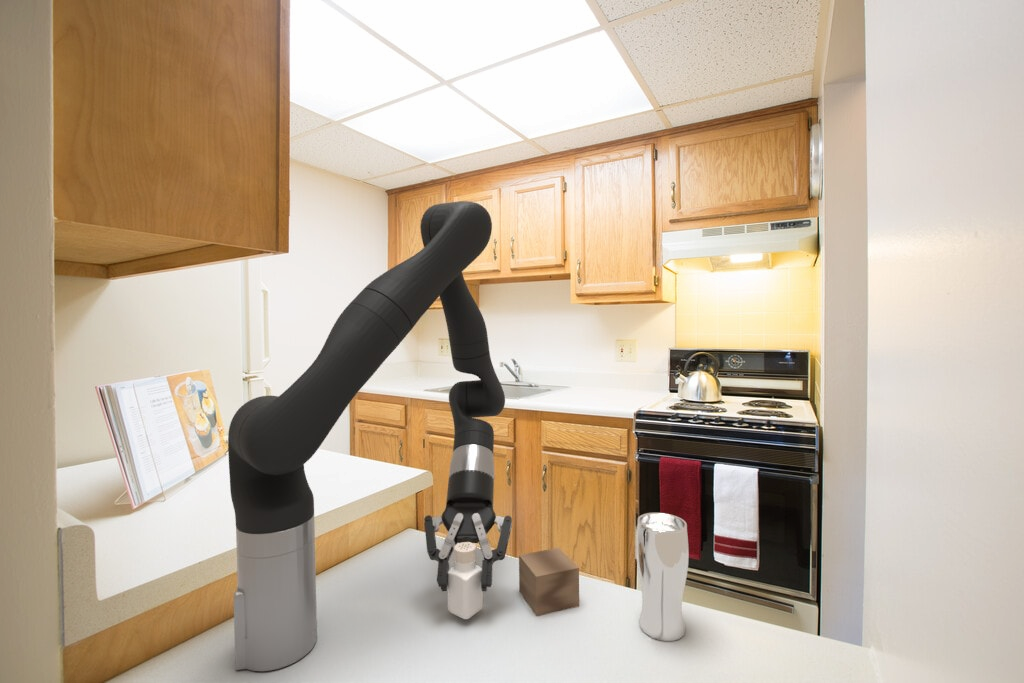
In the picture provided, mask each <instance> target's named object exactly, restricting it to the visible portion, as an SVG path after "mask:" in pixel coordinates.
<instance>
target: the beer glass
mask: <svg viewBox="0 0 1024 683" xmlns="http://www.w3.org/2000/svg"><path fill="white" fill-rule="evenodd" d="M636 526H637V527H636V536H635V537H636V541H635V544H636V545H635V551H636V552H635V554H636V555H635V556H636V565H637V566H636V567H637V572H638V578H639V582H640V583H639V584H640V588H641V599H642V600H641V601H642V602H641V611H640V615H639V622H638V623H639V627H640V629H641V630H642V631H643V633H644V634H645V635H647V636H648V637H650V638H653V639H655V640H658V641H662V642H663V641H664V642H675V641H678V640H681V639H682V638H683V637H684V635H685V633H686V629H685V628H686V626H685V621H684V617H683V597H684V591H685V587H686V582H687V577H688V569H689V556H690V555H689V537H688V524H687V522H686V521H685V520H684V519H683V518H681V517H679V516H677V515H674V514H670V513H666V512H647V513H646V512H645V513H643V514H641V515H639V516H638V517H637V525H636Z"/></svg>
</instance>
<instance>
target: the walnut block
mask: <svg viewBox="0 0 1024 683" xmlns="http://www.w3.org/2000/svg"><path fill="white" fill-rule="evenodd" d="M518 576H519V577H518V579H519V580H518V582H519V583H518V584H519V586H518V588H519V589H518V590H519V594H521V595H522V597H523V599H524V600H525V602H526V603H527V605H528V606H529V608H530V609H531V611H532V612H533V613H534V615H535V617H540V616H544V615H548V614H552V613H557V612H561V611H565V610H570V609H573V608H579V607H580V567H579V566H578V565H577V564H576V563H575V562H574V561H573V560H572V559H571V558H569V556H568V555H567V554H566V553H565V552H564V551H563V550H562V549H561V548H560V547H554V548H549V549H543V550H540V551H535V552H534V551H533V552H528V553H523V554H519V555H518Z"/></svg>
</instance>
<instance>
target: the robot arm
mask: <svg viewBox="0 0 1024 683" xmlns="http://www.w3.org/2000/svg"><path fill="white" fill-rule="evenodd" d="M492 230H493V223H492V218H491V214H490V213H489V211H488V210H487V209H486V208H485V207H484V206H483V205H481V204H480V203H477V202H473V201H467V200H461V201H453V202H442V203H437V204H433V205H431V206H429V207H428V208H427V209H426V210H425V211H424V212H423V214H422V218H421V221H420V237H421V240H422V244H423V248H422V249H420V250H419V251H418V252H416V253H415V254H414V255H413V256H411V257H409V258H406V260H404V261H402V262H400V263H399V264H396V265H395V266H393V267H391V268H390V269H389V270H387V271H385V272H383V273H382V274H380V275H379V276H377V277H376V278H375V279H373V280H372V281H371V282H370V283H369V284H367V285H366V286H365V287H364V288H362V290H361V291H360V292H359V293H358V294H357V296H355V297H354V299H353V300H352V301H350V303H348V305H347V306H346V307H345V308H344V310H343V311H342V312H341V313H340V315H339V316H338V318H337V319H336V320H335V322H334V323H333V326H332V328H331V329H330V332H329V334H328V336H327V338H326V340H325V342H324V344H323V346H322V348H321V350H320V352H319V353H318V355H317V356H316V358H315V359H314V360H313V362H312V363H311V365H310V366H308V368H307V369H306V370H305V371H304V372H303V373H302V374H301V375H300V376H299V377H298V378H297V379H296V380H295V381H294V382H293V383H292V384H291V385H290V386H289V387H288V388H287V389H286V390H284V392H282V393H281V394H280V395H278V396H277V395H262V396H258V397H255V398H252V399H250V400H248V401H246V402H244V404H242V405H241V407H239V408H238V410H237V411H236V412H235V414H234V415H233V417H232V419H231V421H230V424H229V428H228V434H227V436H228V437H227V449H228V450H227V451H228V453H227V454H228V468H229V470H228V471H229V487H230V497H231V502H232V505H233V506H232V507H233V509H234V517H235V518H234V519H235V530H236V532H235V535H236V536H235V537H236V539H235V540H236V569H237V570H236V572H237V579H236V580H237V586H236V589H235V591H234V593H233V625H234V626H233V628H234V629H233V630H234V631H233V632H234V656H235V658H234V659H235V660H234V661H235V663H234V664H235V665H234V666H235V667H234V668H235V671H239V670H248V671H249V670H250V671H254V672H268V671H274V670H279V669H282V668H284V667H287V666H290V665H292V664H294V663H296V662H298V661H300V660H301V659H302V658H304V657H305V656H306V655H308V654H309V653H310V652H311V650H313V648H314V647H315V645H316V644H317V640H318V619H317V613H318V612H317V585H316V584H317V578H316V534H315V530H316V528H315V526H316V525H315V499H314V498H315V497H314V493H313V491H312V489H311V487H310V485H309V482H308V480H307V475H306V473H305V472H306V471H305V464H306V463H307V462H308V461H309V460H311V458H312V457H313V456H314V455H315V453H317V451H318V450H319V448H320V447H321V446H322V444H323V442H324V441H325V439H326V438H327V437H328V435H329V434H330V432H331V430H332V429H333V428H334V427H335V425H336V424H337V422H338V421H339V419H340V417H341V416H342V415H343V413H344V411H345V410H346V408H347V407H348V406H349V404H350V403H351V402H352V400H353V399H354V397H355V396H356V395H357V394H358V392H360V390H361V389H363V387H364V385H365V384H367V382H368V381H369V380H370V379H371V378H372V376H374V374H375V373H376V372H377V371H378V369H379V368H380V367H381V365H383V363H384V362H385V361H386V359H388V357H389V356H390V355H391V354H392V353H393V352H394V351H395V350H396V349H397V348H398V346H399V345H400V343H402V342H403V340H404V339H405V338H406V337H407V335H408V334H409V333H410V332H411V331H412V330H413V328H414V327H415V326H416V324H417V323H418V322H419V320H420V319H421V318H422V316H424V314H425V313H426V312H427V311H428V310H429V309H430V307H431V306H432V305H433V304H434V303H435V302H436V301H437V299H438V298H439V299H440V302H441V307H442V310H443V314H444V316H445V317H444V319H445V322H446V327H447V335H448V340H449V347H450V353H451V361H452V364H453V368H454V369H455V371H457V372H460V373H463V374H469V375H473V376H475V377H478V379H476V380H464V381H458V382H456V383H454V384H453V386H452V387H451V388H450V390H449V393H448V402H449V403H448V404H449V408H450V411H451V414H452V415H451V416H452V418H453V426H454V427H453V429H454V434H453V435H454V436H453V437H454V438H453V439H454V440H453V449H452V455H451V460H450V465H449V472H448V473H449V474H448V484H447V491H446V492H447V494H446V501H445V509H444V511H443V512H442V514H441V515H439V516H433V517H432V515H430V514H429V515H426V516H424V522H423V523H424V531H425V532H424V533H425V543H426V552H427V554H428V557H429V559H430V560H431V561H437V563H438V564H437V574H436V583H437V585H438V587H439V588H440V590H441V592H448V571H449V569H450V562H449V561H450V559H451V557H452V555H453V553H454V546H455V545H457V544H458V543H461V542H470V543H473V544H478V545H479V549H480V550H481V553H482V555H483V559H482V563H481V564H482V565H481V568H482V582H481V589H482V591H483V592H487V591H488V588H491V586H492V583H493V566H494V563H495V562H497V561H503V560H505V557H506V553H507V549H508V545H509V541H510V540H509V539H510V536H511V533H512V532H511V531H512V527H513V518H512V517H511V515H506V516H504V517H503V516H500V515H496V513H495V510H494V492H495V490H494V489H495V488H494V486H495V478H496V475H495V462H494V461H495V460H494V445H495V444H494V442H495V433H494V431H495V430H494V428H493V426H492V425H491V423H489V422H488V421H486V420H483V419H480V418H486V417H487V418H488V417H489V418H490V417H496V416H498V415H500V414H501V413H502V411H503V409H504V408H505V404H506V397H505V391H504V389H503V386H502V384H501V382H500V380H499V377H498V376H497V373H496V371H495V368H494V365H493V361H492V359H491V358H492V357H491V354H490V345H489V344H490V343H489V337H488V330H487V326H486V321H485V319H484V316H483V314H482V311H481V310H480V308H479V306H478V304H477V303H476V301H475V299H474V297H473V296H472V293H471V291H470V289H469V287H468V286H467V283H466V281H465V278H464V275H463V272H464V271H465V269H467V268H468V266H470V265H471V264H472V263H473V262H474V261H475V260H476V259H477V258H478V257H479V256H480V255H481V254H482V253H483V252H484V250H486V247H488V244H489V242H490V239H491V236H492ZM441 525H443V526H444V527H445V529H446V531H447V534H446V536H445V539H444V542H443V544H442V546H441V549H438V548H437V540H436V539H437V538H436V533H437V532H439V530H440V526H441ZM494 525H497V531H498V532H499V533H500V535H499V538H498V541H497V546H496V548H494V549H491V546H490V543H489V540H488V536H487V534H488V533H489V532H490V530H491V529H492V528H493V527H494Z"/></svg>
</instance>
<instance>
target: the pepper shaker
mask: <svg viewBox="0 0 1024 683" xmlns="http://www.w3.org/2000/svg"><path fill="white" fill-rule="evenodd" d="M453 553H454V555H453V556H454V558H453V562H454V565H453V566H451V568H449V571H448V586H447V609H448V612H449V613H451V614H453V615H454V616H457V617H459V618H461V619H462V620H469V619H470V618H472V617H473V616H474V615H476V614H478V612H480V611H481V610H482V609H483V607H484V591H482V589H481V582H482V566H479V565H478V564H477V563H476V561H477V554H476V553H477V546H476V543H471V542H461V543H458V544H457V545H455V546H454V551H453Z"/></svg>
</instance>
